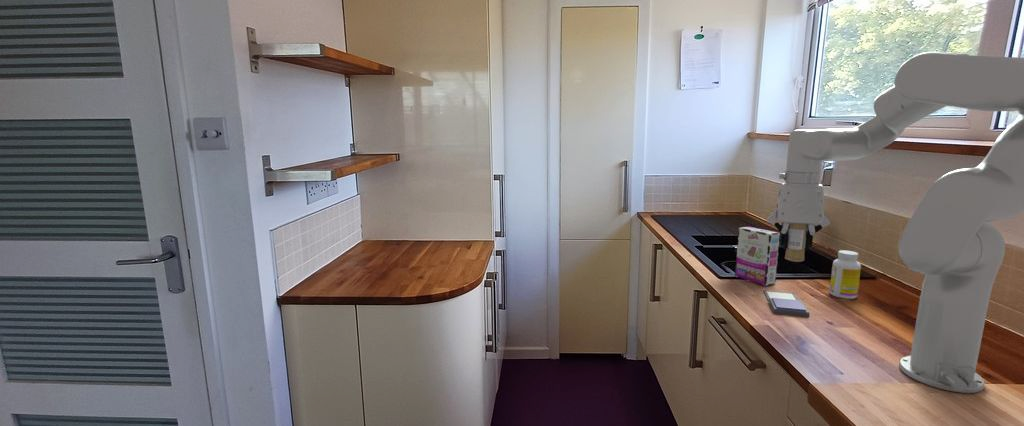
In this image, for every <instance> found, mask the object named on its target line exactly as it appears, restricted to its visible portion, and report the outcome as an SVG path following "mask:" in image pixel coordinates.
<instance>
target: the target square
mask: <svg viewBox="0 0 1024 426" xmlns="http://www.w3.org/2000/svg"><path fill="white" fill-rule="evenodd" d="M763 293H764V295H765V298H766V300H767V301H768V302H769V298H779V299H790V300H799V298H798V297H797V295H796V293H794V292H787V291H786V292H785V291H775V290H764V289H763Z"/></svg>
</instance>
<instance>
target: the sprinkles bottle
mask: <svg viewBox="0 0 1024 426" xmlns="http://www.w3.org/2000/svg"><path fill="white" fill-rule="evenodd" d="M806 231H807V224H792V223H790V224H789V227H788V229H787V234H788V245H787V249H785V255H784V259H785V260H787V261H790V262H795V263H799V262H800V263H801V262H803V261H805V252H806V249H805V246H806Z"/></svg>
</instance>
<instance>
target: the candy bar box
mask: <svg viewBox="0 0 1024 426" xmlns="http://www.w3.org/2000/svg"><path fill="white" fill-rule="evenodd" d="M737 234H738V235H737V246H736V248H737V249H736V259H735V260H736V261H735V271H734V277H735V276H738V277H739V278H738V277H737V278H738V279H742V280H744V281H747V280H748V282H750V281H751V282H750V283H754V284H757V285H760V286H763V287H769V286H772V285H776V282H777V281H776V280H777V270H778V269H777V268H778V261H779V249H780V234H781V232H778V231H772V230H768V229H762V228H757V227H753V226H743V227H738V233H737Z"/></svg>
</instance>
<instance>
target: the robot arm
mask: <svg viewBox="0 0 1024 426" xmlns="http://www.w3.org/2000/svg"><path fill="white" fill-rule="evenodd" d="M893 83H894V85H893V86H891V87H890V88H888V89H887V90H885V91H883V92H881V93H880V94H879V95H878V96H876V98H875V99H874V101H873V110H874V113H875V115H874V116H873V117H871V118H870V119H868V120H866V121H864V122H863V123H861V124H859V125H858V126H855V127H853V128H851V127H849V128H842V127H841V128H825V129H816V128H815V129H810V128H809V129H806V128H805V129H795V130H792V131H791V132H790V134H789V137H788V147H787V157H786V166H785V167H786V169H785V172H784V173H779V175H778V179H779V180H783V181H784V182H782V183H781V185H780V189H779V192H778V196H777V201H776V206H775V209H774V211H772V213H771V214H769V215H768V217H767V218H766V221H767V222H768V223H770V224H771V225H772V226H774V227H775V228H776V229H777V230H778V231H779V233H780V241H779V246H781V247H782V248H783V250H786V249H787V245H788V234H787V229H788V227H789V224H790V223H792V224H807V231H806V246H805V251H810V248H811V247H813V239H814V236H816V233H817V232H819V231H821V230H822V229H823V228H825V227H828V226H829V225H831V221H830V220H829V218H828V217H827V215H826V214H825V191H824V186H823V184H820V180H821V173H822V172H821V171H822V163H823V162H836V161H837V162H838V161H854V160H855V161H856V160H859V159H863V158H866V157H867V156H869V155H871V154H874V153H876V152H878V151H880V150H882V149H884V148H886V147H887V146H889V145H890V144H892V143H894V142H895V141H896V140H897V139H898V138H899V137H900V136H901V135H902V134H903V132H904V131H905V129H906V128H908V127H909V126H911V125H913V124H915V123H916V122H919V121H921V120H922V119H924V118H926V117H928V116H930V115H931V114H933V113H936V112H937V111H940V110H942V109H943V108H945V107H954V108H960V109H967V110H971V111H972V110H974V111H982V112H1018V116H1017V117H1016V119H1014V121H1013V122H1012V123H1011V124H1009V126H1008V127H1007V128H1006V129H1005V130H1003V132H1002V133H1000V135H999V136H998V137H997V138H996V140H995V141H994V143H993V145H992V146H991V148H990V150H989V151H988V153H987V154H986V156H985V157H984V158H983V160H982V161H981V162H980V163H979V164H978V165H977V166H976V167H966V168H965V167H964V168H960V169H955V170H952V171H949V172H948V173H945V174H944V175H942V176H940V177H939V178H938V179H937V180H936V181H935V182H933V183H932V184H931V186H930V187H929V188H928V189H927V191H926V192H925V194H924V195H923V197H922V200H921V201H920V203H919V204H918V206H917V207H916V209H915V210H914V213H913V214H912V215H911V217H910V219H909V221H908V222H907V224H906V225H905V228H904V229H903V231H902V233H901V235H900V238H899V242H898V253H899V256H900V258H901V260H902V262H903V263H904V264H905V266H907V268H909V269H911V270H912V271H914V272H916V273H919V274H922V275H925V277H924V278H923V282H922V285H921V292H920V296H919V302H918V307H917V308H918V310H917V315H916V320H915V327H914V332H913V333H914V334H913V338H912V346H911V351H910V355H906V356H903V357H901V358H900V360H899V364H898V367H899V369H900V370H901V371H902V373H904V374H905V375H906V376H908V377H910V378H912V379H914V380H915V381H918V382H919V383H922V384H923V385H924V384H925V385H927V386H929V387H933V388H937V389H940V390H945V391H948V392H953V393H954V392H955V393H963V394H972V393H979V392H981V391H983V390H984V388H985V384H986V383H985V379H984V378H983V377H982V376H981V375H980V374H978V373H977V372H976V370H977V365H978V359H979V355H980V350H981V345H982V338H983V333H984V328H985V322H986V318H987V312H988V308H989V304H990V303H989V302H990V299H991V294H992V290H993V285H994V283H995V280H996V277H997V275H998V273H999V270H1000V268H1001V265H1002V263H1003V260H1004V257H1005V254H1006V243H1005V242H1006V241H1005V238H1004V236H1003V234H1002V233H1001V232H1000V230H999V229H997V228H996V227H995V226H994V225H992V224H990V223H991V222H998V221H1005V220H1006V221H1007V220H1010V219H1013V218H1016V217H1019V216H1020V215H1022V214H1023V213H1024V57H1015V56H1014V57H1013V56H1012V57H1011V56H990V55H989V56H988V55H970V54H966V53H962V52H951V51H950V52H948V51H947V52H945V51H927V52H921V53H918V54H916V55H914V56H911V57H909V59H907V60H906V61H905V62H903V63H902V65H900V67H898V69H897V71H896V73H895V76H894V81H893ZM776 219H777V220H778V221H779V222H778V221H777V220H776Z"/></svg>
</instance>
